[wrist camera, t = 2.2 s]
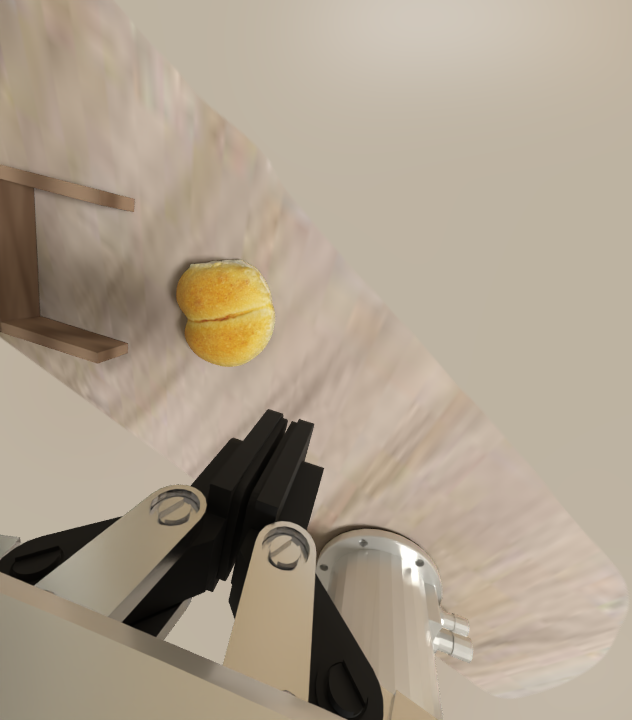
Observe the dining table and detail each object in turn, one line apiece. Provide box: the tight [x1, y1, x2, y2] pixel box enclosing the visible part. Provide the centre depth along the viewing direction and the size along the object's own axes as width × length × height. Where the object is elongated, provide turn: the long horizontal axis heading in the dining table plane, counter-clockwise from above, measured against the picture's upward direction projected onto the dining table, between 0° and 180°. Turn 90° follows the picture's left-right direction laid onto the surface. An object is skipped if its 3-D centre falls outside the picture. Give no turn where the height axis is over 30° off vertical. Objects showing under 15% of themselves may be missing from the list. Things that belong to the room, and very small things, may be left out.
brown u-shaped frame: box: [0, 165, 135, 363], centre depth 28 cm, size 11×14×4 cm
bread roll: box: [176, 260, 275, 367], centre depth 26 cm, size 8×9×4 cm
